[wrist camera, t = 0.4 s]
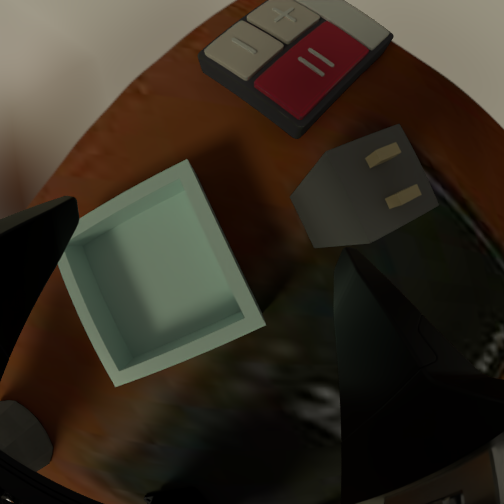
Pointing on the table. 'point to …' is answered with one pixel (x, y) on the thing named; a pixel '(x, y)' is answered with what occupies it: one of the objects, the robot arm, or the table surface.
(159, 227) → the walled box
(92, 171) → the table surface
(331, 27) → the calculator
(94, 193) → the table surface
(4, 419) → the coffeepot
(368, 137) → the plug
